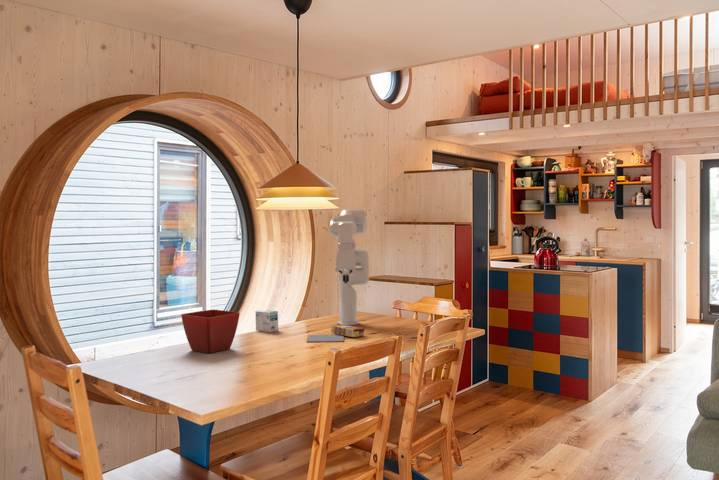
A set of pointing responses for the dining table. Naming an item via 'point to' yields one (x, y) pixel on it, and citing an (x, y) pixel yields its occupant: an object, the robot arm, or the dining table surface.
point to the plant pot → (210, 329)
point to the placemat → (325, 338)
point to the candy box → (347, 330)
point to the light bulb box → (266, 320)
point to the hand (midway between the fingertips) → (345, 282)
